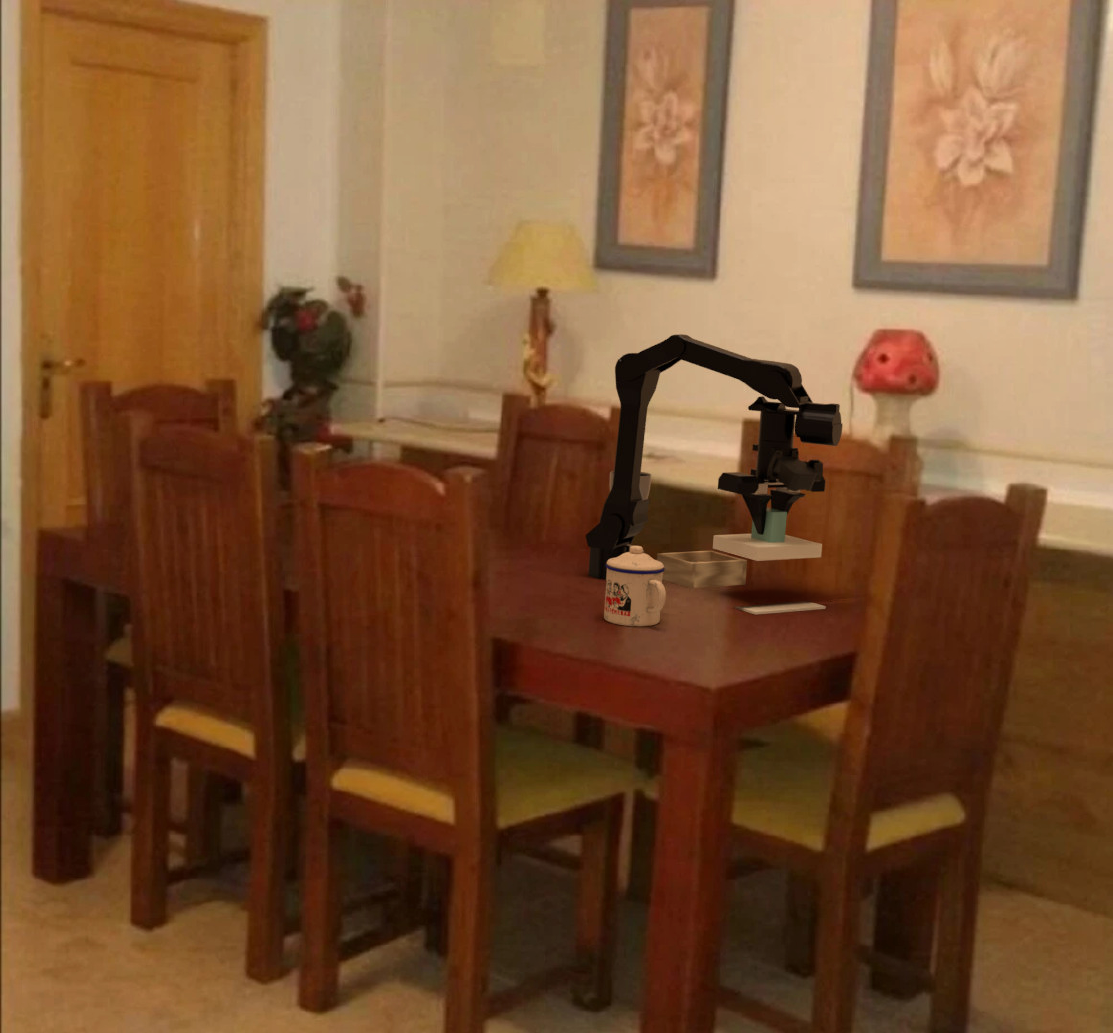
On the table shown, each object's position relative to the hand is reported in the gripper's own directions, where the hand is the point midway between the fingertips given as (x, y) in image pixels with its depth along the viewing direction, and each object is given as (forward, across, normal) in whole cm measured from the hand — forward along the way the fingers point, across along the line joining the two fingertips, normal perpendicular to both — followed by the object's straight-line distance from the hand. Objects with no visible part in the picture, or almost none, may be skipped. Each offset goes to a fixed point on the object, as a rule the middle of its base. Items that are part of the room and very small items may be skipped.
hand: (768, 533), depth 271 cm
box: (+12, -1, +16) cm, 20 cm away
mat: (+12, 0, 0) cm, 12 cm away
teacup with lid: (+12, -30, -6) cm, 33 cm away
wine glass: (+12, +7, +50) cm, 52 cm away
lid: (+3, 0, 0) cm, 3 cm away
